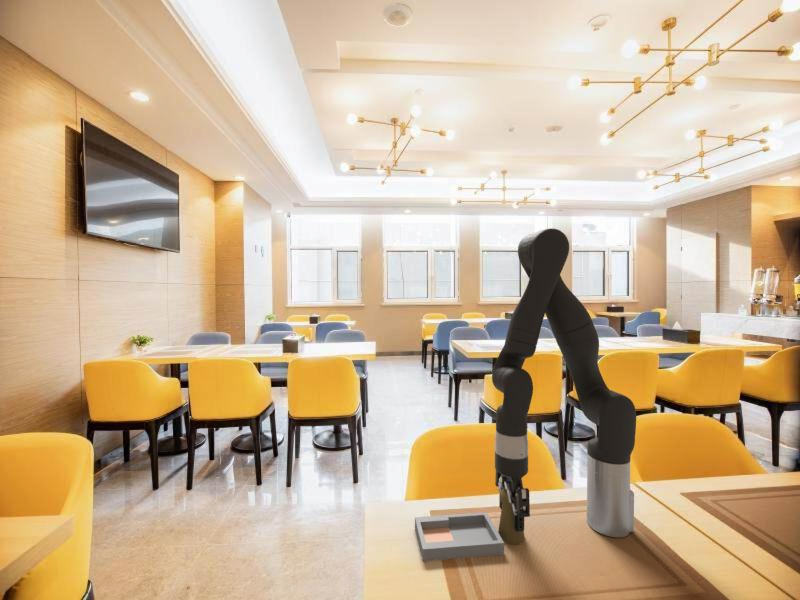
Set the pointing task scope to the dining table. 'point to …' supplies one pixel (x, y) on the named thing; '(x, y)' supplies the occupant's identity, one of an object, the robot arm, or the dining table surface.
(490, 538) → the grey shallow tray
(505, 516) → the olive pawn piece
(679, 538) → the dining table surface
